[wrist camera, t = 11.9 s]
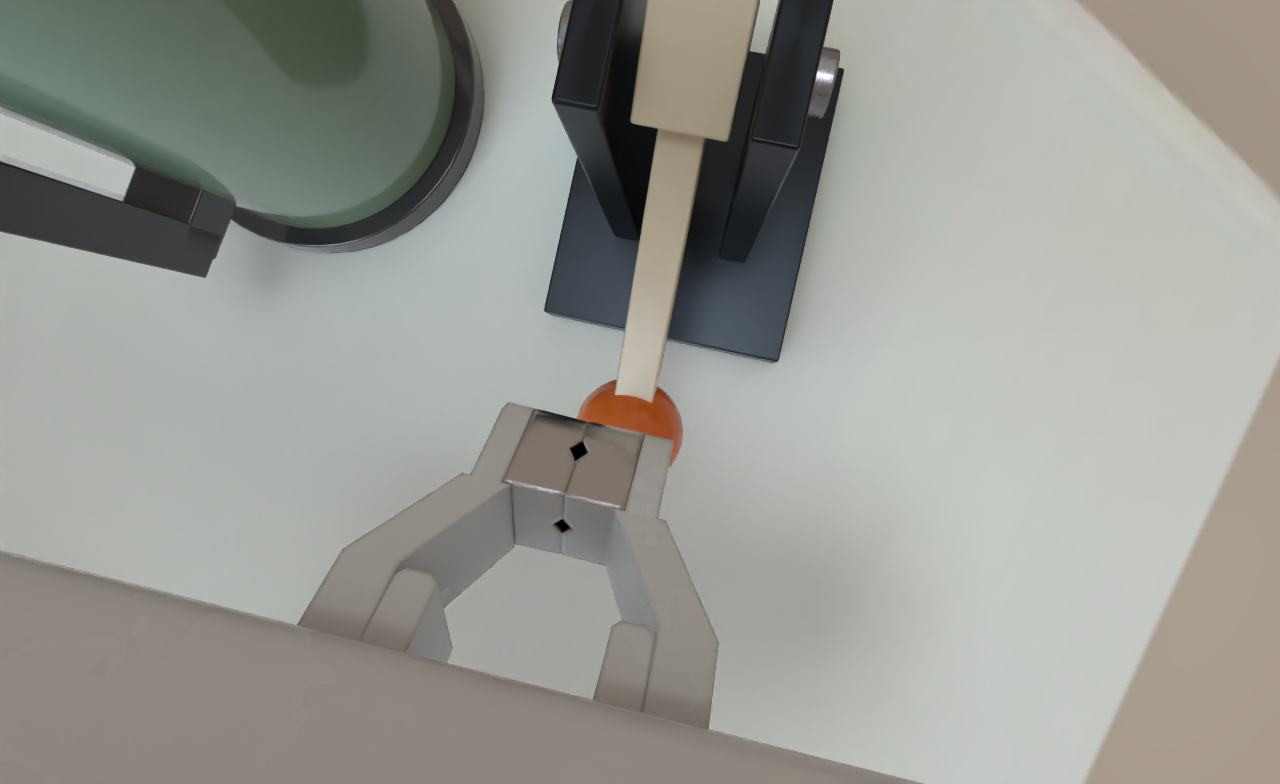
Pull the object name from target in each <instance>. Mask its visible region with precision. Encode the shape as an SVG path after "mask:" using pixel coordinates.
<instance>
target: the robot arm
mask: <svg viewBox="0 0 1280 784" xmlns="http://www.w3.org/2000/svg"><path fill="white" fill-rule="evenodd" d="M673 441H674V440H671V439H666V438H662V437H657V436H653V435H649V434H645V433H642V432H637V431H633V430H628V429H623V428H619V427H614V426H609V425H605V424H600V423H595V422H591V421H590V422H586V421H582V420H578V419H574V418H570V417H567V416H563V415H559V414H555V413H551V412H547V411H543V410H539V409H535V408H530V407H526V406H522V405H518V404H514V403H509V402H508V403H507V404H506V405H505V406H504V407H503V408H502V410H501V412H500V414H499V416H498V418H497V420H496V422H495V424H494V426H493V429H492V431H491V433H490V435H489V437H488V439H487V441H486V443H485V445H484V447H483V449H482V451H481V453H480V455H479V458H478V460H477V462H476V464H475V466H474V468H473V470H472V472H471V474H465V473H461V474H460V475H458V476H457V477H455V478H453V479H452V480H450V481H449V482H447V483H446V484H444V485H442V486H441V487H439V488H438V489H436V490H435V491H433V492H431V493H430V494H428V495H427V496H425V497H424V498H422V499H420V500H419V501H417V502H416V503H414V504H413V505H411V506H409V507H408V508H406V509H405V510H403V511H402V512H400V513H398V514H397V515H395V516H394V517H392V518H391V519H389V520H387V521H386V522H384V523H383V524H381V525H380V526H378V527H376V528H375V529H373V530H372V531H370V532H369V533H367V534H365V535H364V536H362V537H361V538H359V539H358V540H356V541H354V542H353V543H351V544H350V545H348V546H347V547H345V548H343V549H342V551H341V552H340V554H339V556H338V557H337V559H336V561H335V562H334V564H333V566H332V567H331V569H330V571H329V572H328V574H327V576H326V577H325V579H324V581H323V582H322V584H321V586H320V587H319V589H318V591H317V592H316V594H315V596H314V597H313V599H312V601H311V602H310V604H309V606H308V607H307V609H306V611H305V612H304V614H303V616H302V617H301V619H300V621H299V622H298V624H297V625H294V624H291V623H287V622H283V621H279V620H275V619H271V618H267V617H263V616H259V615H255V614H251V613H247V612H243V611H239V610H235V609H231V608H227V607H223V606H219V605H215V604H211V603H207V602H203V601H199V600H195V599H192V598H188V597H184V596H180V595H176V594H172V593H168V592H164V591H160V590H156V589H152V588H148V587H144V586H140V585H136V584H132V583H128V582H124V581H120V580H116V579H112V578H108V577H104V576H100V575H97V574H93V573H89V572H85V571H81V570H77V569H73V568H69V567H65V566H61V565H57V564H53V563H49V562H45V561H41V560H37V559H33V558H29V557H25V556H21V555H17V554H13V553H9V552H5V551H2V550H0V784H923V783H919V782H915V781H911V780H907V779H903V778H899V777H895V776H891V775H887V774H883V773H879V772H875V771H872V770H868V769H864V768H860V767H856V766H852V765H848V764H844V763H840V762H836V761H832V760H828V759H824V758H820V757H816V756H812V755H808V754H804V753H800V752H796V751H793V750H789V749H785V748H781V747H777V746H773V745H769V744H765V743H761V742H757V741H753V740H749V739H745V738H741V737H737V736H733V735H729V734H725V733H721V732H717V731H713V730H710V729H709V721H710V712H711V704H712V695H713V687H714V678H715V670H716V661H717V653H718V644H719V642H718V639H717V637H716V635H715V633H714V630H713V628H712V626H711V623H710V621H709V619H708V616H707V614H706V612H705V610H704V607H703V605H702V603H701V600H700V598H699V596H698V594H697V591H696V589H695V587H694V584H693V582H692V580H691V577H690V575H689V573H688V571H687V568H686V566H685V564H684V561H683V559H682V557H681V554H680V552H679V550H678V548H677V545H676V543H675V541H674V538H673V536H672V534H671V532H670V529H669V527H668V525H667V522H666V521H665V520H661V519H658V514H659V510H660V505H661V500H662V496H663V491H664V486H665V482H666V477H667V472H668V468H669V463H670V458H671V454H672V449H673ZM514 544H517V545H522V546H526V547H531V548H536V549H540V550H545V551H550V552H555V553H559V554H563V555H567V556H571V557H575V558H578V559H582V560H586V561H589V562H593V563H597V564H601V565H604V566H607V571H608V575H609V578H610V581H611V585H612V588H613V591H614V595H615V598H616V602H617V605H618V608H619V612H620V615H621V618H622V620H621V621H620V622H618V623H617V624H615V625H613V626H612V628H611V632H610V636H609V640H608V644H607V647H606V651H605V655H604V659H603V663H602V667H601V671H600V675H599V678H598V682H597V686H596V690H595V694H594V698H593V700H591V699H587V698H583V697H579V696H575V695H571V694H567V693H563V692H559V691H555V690H552V689H548V688H544V687H540V686H536V685H532V684H528V683H524V682H520V681H516V680H512V679H508V678H504V677H500V676H496V675H492V674H488V673H484V672H480V671H476V670H472V669H469V668H465V667H461V666H457V665H453V664H449V663H447V661H448V659H449V656H450V653H451V651H452V648H453V647H452V643H451V639H450V635H449V630H448V626H447V622H446V618H445V614H444V610H443V608H445V607H446V606H447V605H448V604H449V603H450V602H452V601H453V600H454V599H455V598H456V597H457V596H458V595H460V594H461V593H462V592H463V591H464V590H465V589H466V588H468V587H469V586H470V585H471V584H472V583H473V582H474V581H476V580H477V579H478V578H479V577H480V576H481V575H483V574H484V573H485V572H486V571H487V570H488V569H489V568H491V567H492V566H493V565H494V564H495V563H496V562H497V561H499V560H500V559H501V558H502V557H503V556H504V555H505V554H507V553H508V552H509V551H510V550H511V549H512V548H513V547H514Z"/></svg>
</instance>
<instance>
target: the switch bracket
mask: <svg viewBox="0 0 1280 784" xmlns="http://www.w3.org/2000/svg"><path fill="white" fill-rule="evenodd" d="M833 1H834V0H779V1H778V5H777V9H776V13H775V17H774V21H773V25H772V30H771V34H770V38H769V42H768V46H767V50H766V54H762V53H756V52H751V51H750V52H749V56H748V61H747V66H746V70H745V75H744V80H743V84H742V89H741V93H740V98H739V103H738V107H737V112H736V117H735V121H734V126H733V129H732V132H731V135H730V138H729V140H728V141H726V142H723V141H718V140H713V139H708V138H707V140H706V145H705V150H704V155H703V160H702V165H701V170H700V175H699V180H698V185H697V190H696V195H695V200H694V205H693V210H692V215H691V220H690V225H689V230H688V235H687V240H686V245H685V251H684V256H683V261H682V266H681V271H680V276H679V281H678V286H677V291H676V296H675V301H674V306H673V311H672V316H671V321H670V326H669V331H668V336H667V340H669V341H674V342H678V343H683V344H687V345H692V346H697V347H701V348H706V349H710V350H715V351H720V352H724V353H729V354H733V355H738V356H743V357H747V358H752V359H756V360H761V361H766V362H770V363H774V362H778V360H779V356H780V352H781V347H782V343H783V338H784V334H785V330H786V325H787V321H788V316H789V312H790V308H791V303H792V299H793V294H794V290H795V285H796V281H797V277H798V272H799V268H800V263H801V259H802V254H803V250H804V246H805V241H806V237H807V232H808V228H809V224H810V219H811V215H812V210H813V206H814V201H815V197H816V193H817V188H818V184H819V179H820V175H821V171H822V166H823V162H824V157H825V153H826V148H827V144H828V140H829V135H830V131H831V126H832V122H833V117H834V113H835V109H836V104H837V100H838V95H839V91H840V87H841V82H842V78H843V73H844V69H842V68H838V66H839V61H840V50H838V49H835V48H829V47H824V46H823V45H824V41H825V36H826V32H827V28H828V23H829V19H830V14H831V10H832V5H833ZM646 3H647V0H569V1H567V2H566V4H565V5H564V8H563V10H562V14H561V17H560V22H559V28H558V38H557V53H558V61H559V66H558V71H557V75H556V80H555V85H554V89H553V94H552V103H553V105H554V107H555V109H556V111H557V114H558V116H559V118H560V120H561V122H562V124H563V126H564V129H565V131H566V133H567V135H568V137H569V139H570V141H571V144H572V146H573V148H574V150H575V152H576V154H577V161H576V165H575V170H574V175H573V179H572V184H571V188H570V193H569V198H568V202H567V207H566V211H565V216H564V221H563V225H562V230H561V234H560V239H559V244H558V248H557V253H556V257H555V262H554V267H553V271H552V276H551V280H550V285H549V290H548V294H547V299H546V303H545V308H544V311H545V312H547V313H549V314H550V315H554V316H558V317H563V318H568V319H572V320H577V321H581V322H586V323H591V324H595V325H600V326H605V327H609V328H614V329H618V330H623V331H625V327H626V321H627V315H628V309H629V303H630V297H631V290H632V284H633V278H634V272H635V266H636V260H637V254H638V247H639V241H640V235H641V229H642V223H643V217H644V210H645V204H646V198H647V192H648V186H649V180H650V173H651V167H652V161H653V155H654V149H655V143H656V136H657V130H658V129H657V128H652V127H647V126H642V125H637V124H633V123H631V121H630V116H631V109H632V102H633V95H634V88H635V81H636V74H637V67H638V60H639V53H640V46H641V39H642V32H643V25H644V17H645V10H646Z"/></svg>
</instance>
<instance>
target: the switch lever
mask: <svg viewBox="0 0 1280 784" xmlns="http://www.w3.org/2000/svg"><path fill="white" fill-rule="evenodd" d="M759 6H760V0H647V3H646V10H645V17H644V25H643V32H642V39H641V46H640V53H639V60H638V67H637V74H636V81H635V88H634V95H633V102H632V109H631V116H630V121H631V123H633V124H637V125H642V126H647V127H652V128H657V129H658V130H657V136H656V143H655V149H654V155H653V161H652V167H651V173H650V180H649V186H648V192H647V198H646V204H645V210H644V217H643V223H642V229H641V235H640V241H639V247H638V254H637V260H636V266H635V272H634V278H633V284H632V290H631V297H630V303H629V309H628V315H627V321H626V327H625V334H624V340H623V346H622V352H621V358H620V364H619V371H618V377H617V380H613V381H610V382H608V383H606V384H604V385H602V386H600V387H599V388H597V389H596V390H595V391H594V392H592V393H591V394H590V395H589V396H588V398H587V399H586V400H585V402H584V403H583V405H582V406H581V408H580V411H579V413H578V416H577V419H578V420H582V421H586V422H590V421H591V422H595V423H600V424H605V425H609V426H614V427H619V428H623V429H628V430H633V431H637V432H642V433H645V434H649V435H653V436H657V437H662V438H666V439H671V440H674V441H673V449H672V454H671V458H670V463H669V467H670V466H671V465H672V464H673V462H674V461H675V459H676V457H677V455H678V453H679V450H680V447H681V444H682V436H683V427H682V421H681V417H680V414H679V411H678V409H677V407H676V405H675V404H674V402H673V400H672V399H671V398H670V397H669V396H668V395H667V394H666V393H665V392H664V391H663V390H662V389H660V388H659V387H658V381H659V376H660V371H661V366H662V361H663V356H664V351H665V346H666V341H667V336H668V331H669V326H670V321H671V316H672V311H673V306H674V301H675V296H676V291H677V286H678V281H679V276H680V271H681V266H682V261H683V256H684V251H685V245H686V240H687V235H688V230H689V225H690V220H691V215H692V210H693V205H694V200H695V195H696V190H697V185H698V180H699V175H700V170H701V165H702V160H703V155H704V150H705V145H706V140H707V138H708V139H713V140H718V141H723V142H726V141H728V140H729V138H730V135H731V132H732V129H733V126H734V121H735V117H736V112H737V107H738V103H739V98H740V93H741V89H742V84H743V80H744V75H745V70H746V66H747V61H748V56H749V52H750V47H751V43H752V38H753V33H754V29H755V24H756V19H757V15H758V10H759Z"/></svg>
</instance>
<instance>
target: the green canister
mask: <svg viewBox="0 0 1280 784" xmlns="http://www.w3.org/2000/svg"><path fill="white" fill-rule="evenodd" d="M482 107H483V82H482V72H481V67H480V61H479V56H478V52H477V49H476V46H475V44H474V41H473V38H472V35H471V33H470V31H469V29H468V27H467V24H466V22H465V20H464V18H463V16H462V15H461V13H460V11H459V10H458V8H457V6H456V5H455V3H454V1H453V0H0V113H1V114H3V115H6V116H8V117H11V118H13V119H16V120H18V121H21V122H23V123H26V124H28V125H31V126H33V127H36V128H38V129H41V130H43V131H46V132H48V133H51V134H53V135H56V136H59V137H61V138H64V139H66V140H69V141H71V142H74V143H76V144H79V145H81V146H84V147H86V148H89V149H91V150H94V151H96V152H99V153H101V154H104V155H106V156H109V157H111V158H114V159H116V160H119V161H121V162H124V163H126V164H129V165H131V166H134V167H135V169H134V172H133V175H132V177H131V180H130V183H129V185H128V188H127V190H126V193H125V196H122V195H119V194H116V193H113V192H110V191H107V190H104V189H101V188H98V187H96V186H93V185H90V184H87V183H84V182H81V181H78V180H75V179H72V178H69V177H66V176H63V175H60V174H57V173H54V172H51V171H48V170H45V169H42V168H40V167H37V166H34V165H31V164H28V163H25V162H22V161H19V160H16V159H13V158H10V157H7V156H4V155H1V154H0V232H4V233H8V234H12V235H17V236H21V237H26V238H30V239H35V240H39V241H43V242H48V243H52V244H57V245H61V246H66V247H70V248H74V249H79V250H83V251H88V252H92V253H97V254H101V255H105V256H110V257H114V258H119V259H123V260H128V261H132V262H136V263H141V264H145V265H150V266H154V267H159V268H163V269H167V270H172V271H176V272H181V273H185V274H189V275H194V276H198V277H203V278H205V277H206V276H207V273H208V271H209V268H210V266H211V263H212V260H213V259H215V258H216V256H217V253H218V251H219V248H220V245H221V243H222V240H223V238H224V235H225V233H226V230H227V227H228V225H229V222H230V220H232V221H234V222H235V223H237V224H238V225H240V226H241V227H243V228H245V229H247V230H249V231H251V232H253V233H255V234H257V235H259V236H261V237H264V238H266V239H269V240H272V241H275V242H278V243H281V244H284V245H287V246H290V247H293V248H296V249H301V250H306V251H312V252H325V253H339V252H351V251H356V250H361V249H365V248H370V247H373V246H376V245H379V244H382V243H384V242H387V241H390V240H392V239H394V238H396V237H397V236H399V235H401V234H403V233H405V232H407V231H409V230H410V229H411V228H413V227H414V226H416V225H417V224H419V223H420V222H421V221H423V220H424V219H425V218H426V217H427V216H429V215H430V214H431V213H432V212H433V211H434V210H435V209H436V208H437V207H438V206H439V205H440V204H441V203H442V202H443V201H444V199H445V198H446V197H447V196H448V195H449V193H450V192H451V191H452V190H453V188H454V186H455V185H456V183H457V182H458V180H459V179H460V177H461V176H462V174H463V172H464V170H465V168H466V166H467V164H468V162H469V159H470V157H471V155H472V152H473V149H474V146H475V143H476V140H477V137H478V133H479V128H480V123H481V118H482Z"/></svg>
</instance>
